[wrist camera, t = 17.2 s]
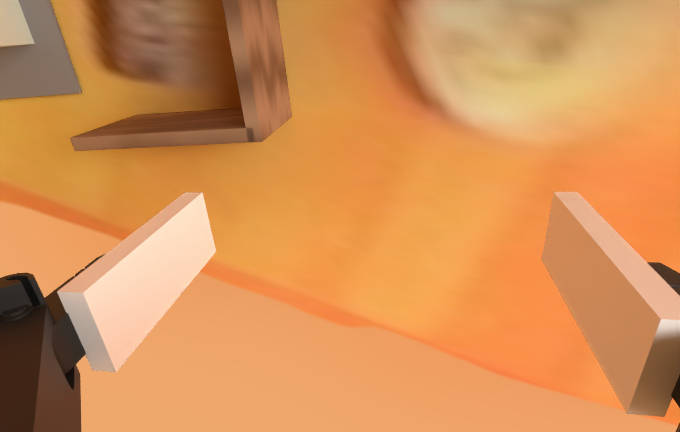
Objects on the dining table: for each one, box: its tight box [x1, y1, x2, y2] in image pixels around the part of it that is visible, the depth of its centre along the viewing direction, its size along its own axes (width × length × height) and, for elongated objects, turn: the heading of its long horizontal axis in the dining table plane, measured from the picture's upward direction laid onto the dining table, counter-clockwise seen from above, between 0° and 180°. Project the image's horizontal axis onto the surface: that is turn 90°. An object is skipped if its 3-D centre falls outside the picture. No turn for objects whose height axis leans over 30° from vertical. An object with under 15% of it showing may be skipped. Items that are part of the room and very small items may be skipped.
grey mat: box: [0, 0, 82, 99], centre depth 42 cm, size 16×12×1 cm
